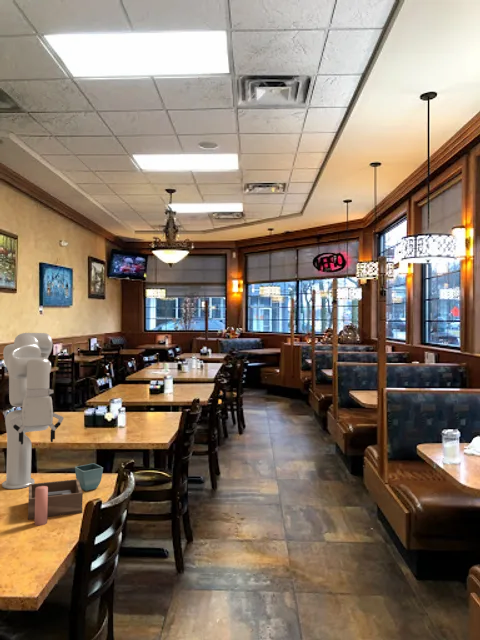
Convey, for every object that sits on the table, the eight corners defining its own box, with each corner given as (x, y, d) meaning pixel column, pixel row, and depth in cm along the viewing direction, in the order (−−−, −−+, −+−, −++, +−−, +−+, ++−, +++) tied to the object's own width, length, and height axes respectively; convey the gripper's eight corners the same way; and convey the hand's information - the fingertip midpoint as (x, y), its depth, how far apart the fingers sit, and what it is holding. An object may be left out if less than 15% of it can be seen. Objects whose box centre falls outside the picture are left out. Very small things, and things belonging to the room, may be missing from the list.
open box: (28, 502, 187) (28, 484, 187) (77, 496, 194) (78, 479, 194) (28, 519, 170) (28, 499, 170) (82, 512, 177) (82, 493, 177)
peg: (34, 521, 168) (35, 486, 168) (46, 520, 170) (47, 485, 170) (34, 526, 164) (35, 490, 165) (47, 524, 166) (48, 488, 166)
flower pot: (82, 493, 198) (83, 471, 198) (73, 488, 204) (74, 466, 205) (103, 489, 204) (103, 467, 204) (93, 484, 210) (94, 463, 210)
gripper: (63, 391, 179) (62, 438, 178) (11, 393, 172) (10, 442, 171) (64, 393, 172) (63, 442, 171) (10, 395, 166) (9, 446, 165)
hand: (37, 442), depth 171 cm, fingers open, 9 cm apart
